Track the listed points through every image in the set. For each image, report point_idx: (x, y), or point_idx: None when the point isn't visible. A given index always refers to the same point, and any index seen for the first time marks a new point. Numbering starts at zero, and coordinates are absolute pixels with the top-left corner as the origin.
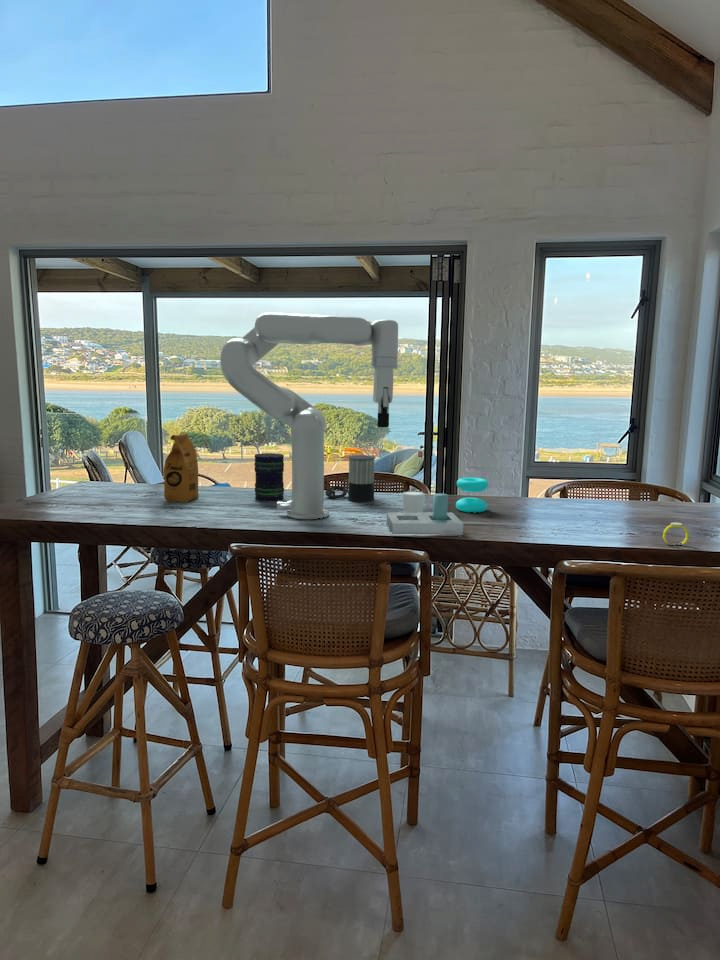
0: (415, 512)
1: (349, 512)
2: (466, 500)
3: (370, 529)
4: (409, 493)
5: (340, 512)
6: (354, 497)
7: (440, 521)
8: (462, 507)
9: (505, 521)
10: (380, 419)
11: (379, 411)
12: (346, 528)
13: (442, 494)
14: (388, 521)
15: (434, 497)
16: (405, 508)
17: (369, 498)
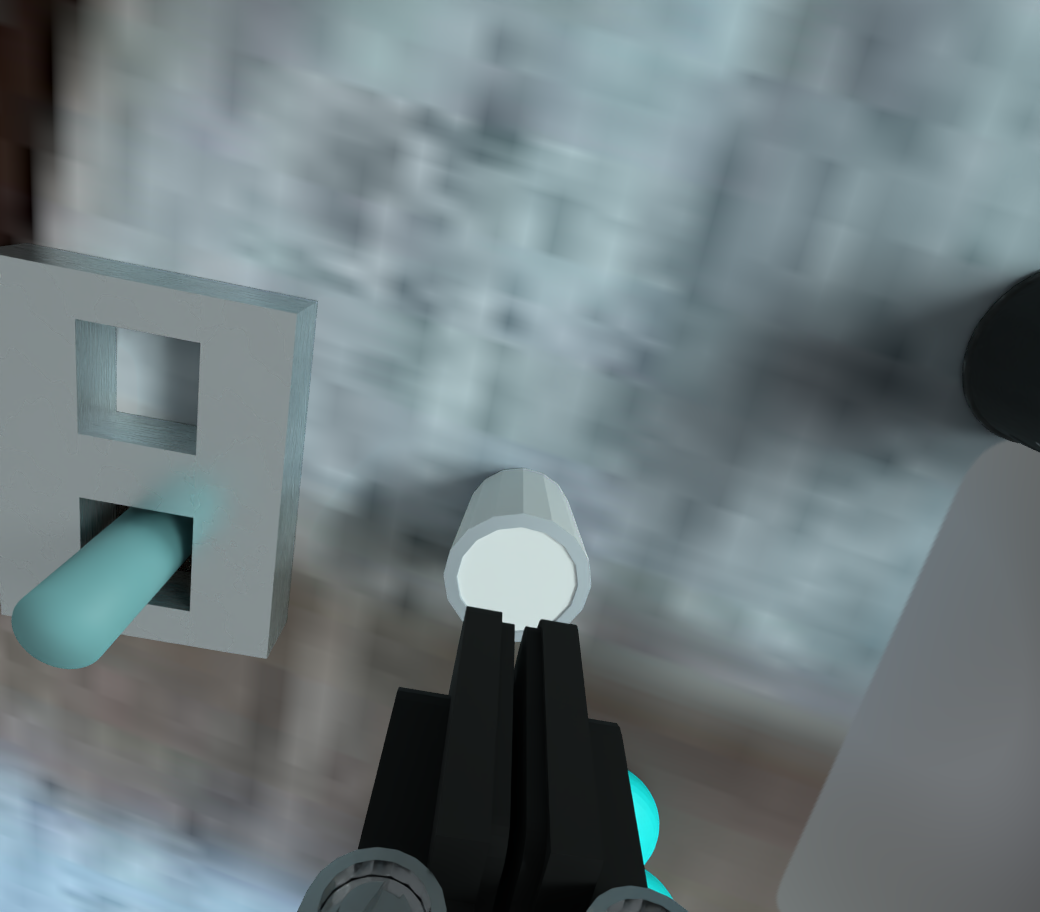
0: (282, 480)
1: (694, 164)
2: None
3: (201, 165)
4: (520, 555)
5: (712, 98)
6: (1029, 298)
7: (44, 527)
8: None
9: (323, 838)
10: (441, 751)
11: (299, 907)
12: (236, 10)
13: (72, 644)
14: (208, 288)
15: (46, 582)
16: (498, 485)
17: (980, 397)
